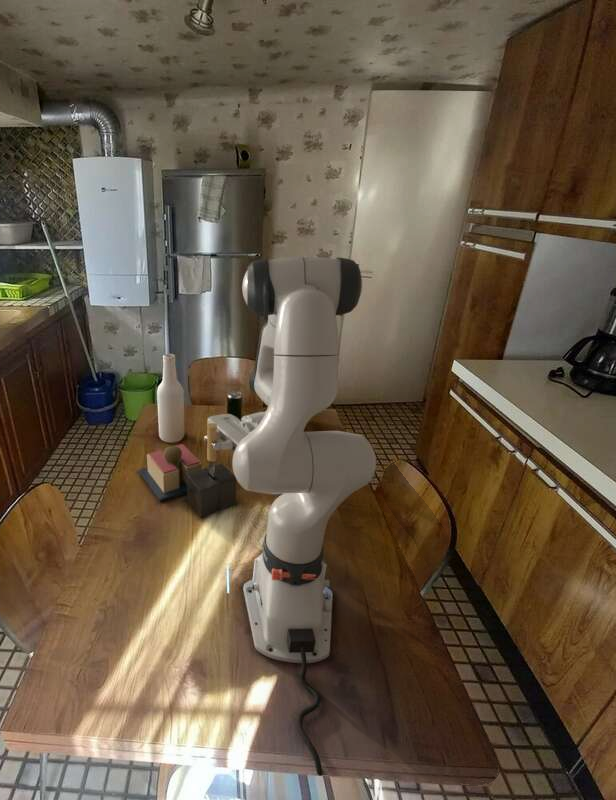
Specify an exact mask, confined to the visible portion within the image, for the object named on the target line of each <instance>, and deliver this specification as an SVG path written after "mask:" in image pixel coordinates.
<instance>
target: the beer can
mask: <svg viewBox="0 0 616 800" xmlns="http://www.w3.org/2000/svg"><path fill="white" fill-rule="evenodd" d="M226 395H227V396H226V397H227V398H226V414H231V415H233V416H236V417H238V419H240V420H241V419H242V412H243V411H242V410H243V409H242V408H243V393H242V391H240V390H237V389H233V390H229V391H228V392H227V394H226Z"/></svg>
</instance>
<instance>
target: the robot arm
mask: <svg viewBox="0 0 616 800" xmlns="http://www.w3.org/2000/svg"><path fill="white" fill-rule="evenodd" d="M241 289H242V296H243V299H244V302H245V304H246V305H247V309H248V310H249V311H250V312H252V314H254V315H256V316H259V317H262V318H263V320H264V321H265V323H264V324H263V325H262V328H261V330H260V333H259V336H258V343H257V348H256V355H255V356H256V357H255V361H254V365H253V367H252V368H253V369H252V370H251V373H250V376H249V378H248V379H249V380H248V386H249V389H250V391H252V393H254V394H255V395H256V396H257V397H258V398H260V400H261V401H262V402H263V403H264V404H265V405H266V407H267V408H266V410H265V411H258V412H254V413H251V414H248V415H247V414H246V415H243V416H242V417H241V420H240V419H238V417H236V416H233V415H231V414H227V413H222V414H216V415H211V416H209V417H208V418H207V419H206V421H207V423H206V426H207V425H208V424H210V423H215V424H217V441H215V442H212V444H211V445H212V446H211V447H212V448H213V449H214V450H215V451H216V450H217V451H219V450H223V451H224V450H225V451H229V450H231V451H232V452H233V455H232V459H231V460H232V461H231V465H232V471H233V472H232V473H233V475H234V476H235V477H236V479H237V483H238V484H239V485H240V486H241V488H243V489H244V490H245V491H248V492H253V493H258V494H265V495H279V496H278V497H276V498H275V499H274V501H273V502H272V504H271V505H270V507H269V509H268V515H267V524H266V533H265V535H264V539H263V542H262V552H261V554H259V555H258V556H257V557H256V558H255V559H254V564H253V574H252V579H250V580H248V581H246V582H245V583H244V584H243V588H242V589H243V595H244V600H245V605H246V606H245V607H246V609H247V615H248V620H249V625H250V630H251V634H252V640H253V644H254V648H255V650H256V651H257V652H259V653H260V654H261V655H263V656H265V657H267V658H270V659H273V660H275V661H280V662H283V663H284V662H285V663H290V664H291V663H292V664H301V670H300V674H299V675H300V676H299V678H300V682H301V684H302V686H303V687H304V689H306V690H307V691H308V692H309V693H310V694H311V695H312V696H313V698H314V702H313V703H312V704H310V705H309V706H307V707H305V708H303V709H302V710H301V711H300V712H299V713H298V715H297V719H296V727H297V729H298V730H297V731H298V733H299V735H300V738H301V740H303V742H304V744H305V746H306V747H307V749H308V750H309V752H310V753H311V756H312V758H313V761H314V765H315V770H316V774H317V775H318V776H319V777H320V776H321V777H322V775H323V768H322V762H321V759H320V756H319V754H318V752H317V749H316V747H315V746H314V744H313V743H312V741H311V739H310V738H309V737H308V735H307V733H306V732H305V729H304V725H303V720H304V718H305V717H307V715H309V714H311V713H313V712H315V711H316V710H317V709H318V708H319V706H320V704H321V698H320V697H321V696H320V693H318V691H317V690H316V688H314V687H313V686H312V685H310V684H309V683H308V681H307V679H306V675H307V671H308V665H307V664H312V663H318V662H321V661H323V660H326V659H327V658H329V657H330V654H331V653H330V652H331V637H332V634H331V633H332V614H333V595H334V594H333V591H332V590H331V589H330V588H329V587H330V580H328V579H325V577H326V571H327V566H328V565H327V564H326V562H325V561H324V557H325V556H324V555H325V552H324V551H325V549H324V539H325V534H326V530H327V526H328V524H329V521H330V519H331V517H332V515H333V514H334V513H335V511H336V510H337V509H338V507H339V506H340V505H341V504H342V503H343V502H344V501H345V500H346V499H348V497H350V496H351V495H352V494H354V493H355V492H357V491H358V490H360V489H362V488H364V487H366V486H367V485H368V484H369V483H370V482H371V481H372V479H373V477H374V475H375V472H376V469H377V456H376V453H375V450H374V448H373V446H372V444H371V442H370V441H369V440H368V439H367V438H366V437H365V436H364V435H362V434H359V433H354V432H348V431H342V430H319V431H318V430H317V431H314V430H313V431H305V428H306V426H307V424H308V422H309V421H310V420H311V419H312V418H313V417H314V416H316V415H317V414H319V413H321V412H324V411H325V410H326V409H328V408H329V407H330V406H331V405H332V404H333V403H334V402H335V400H336V399H337V396H338V388H339V387H338V385H339V384H338V382H339V381H338V380H339V347H340V345H339V327H338V320H337V316H342V315H346V314H349V313H351V312H352V311H353V310H354V309H355V308H356V307H357V306H358V305H359V301H360V298H361V295H362V291H363V277H362V273H361V269H360V266H359V265H358V263H357V262H356V261H355V260H354V259H350V258H345V257H336V258H331V257H320V256H319V257H318V256H303V255H294V256H283V257H275V258H271V259H269V258H267V257H265V258H260V259H257V260H253V261H251V262H250V264H249V265H248V266H247V270H246V271H245V273H244V276H243V279H242V285H241ZM203 441H204V442H205V443H206V444H207V434H206V435H204V436H203ZM229 573H230V572H229V566H226V589H227V594H230V576H229V575H230V574H229Z"/></svg>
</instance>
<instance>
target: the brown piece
mask: <svg viewBox="0 0 616 800" xmlns="http://www.w3.org/2000/svg"><path fill="white" fill-rule="evenodd" d="M176 446H177V445H169V446H167V447H166V448H164V450H163V453H164V458H165V459H166V462H167V463H170V464H173V465H175V467H176V468H177V469H178V470H179V483H180V482H181V481H182V470H181V463H180V458H181V456H182V452H181V449H180V448H179V447H176Z"/></svg>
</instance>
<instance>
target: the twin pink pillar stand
mask: <svg viewBox="0 0 616 800" xmlns="http://www.w3.org/2000/svg"><path fill="white" fill-rule="evenodd" d="M175 446H176V447H179V448H180V449H181V452H182V456H181V458H180V463H181V470H182V481H181V482H180V483H179V470H178V469H177V468H176V467H175V465H173V464H170V463H167V462H166V459H165V458H164V450H162V449H159V450H157V451H153V452H149V453H147V454H146V465H147V467H144V468H141V469H138V473H139V474H140V476H141V477H142V479H143V480H144V482H146V484H147V485H148V487H149V488H150V490H151V491H152V493H153V494H154V495H155V497H156V498H157V500H158V501H159V502H160V503H162V502H165V501H168V500H171V499H174V498H177V497H180V496H182V495H187V474H189V473H192V472H195V471H199V470H202V469H203V467H202V465H203V463H202V462H201V461H200V460H199V459H198V458H197V457H196V456H195V455H194V454H193V453H192V452H191V451H190V449H188V448H187V446H186V445H185V444H183V443H181V444H177V445H175Z"/></svg>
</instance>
